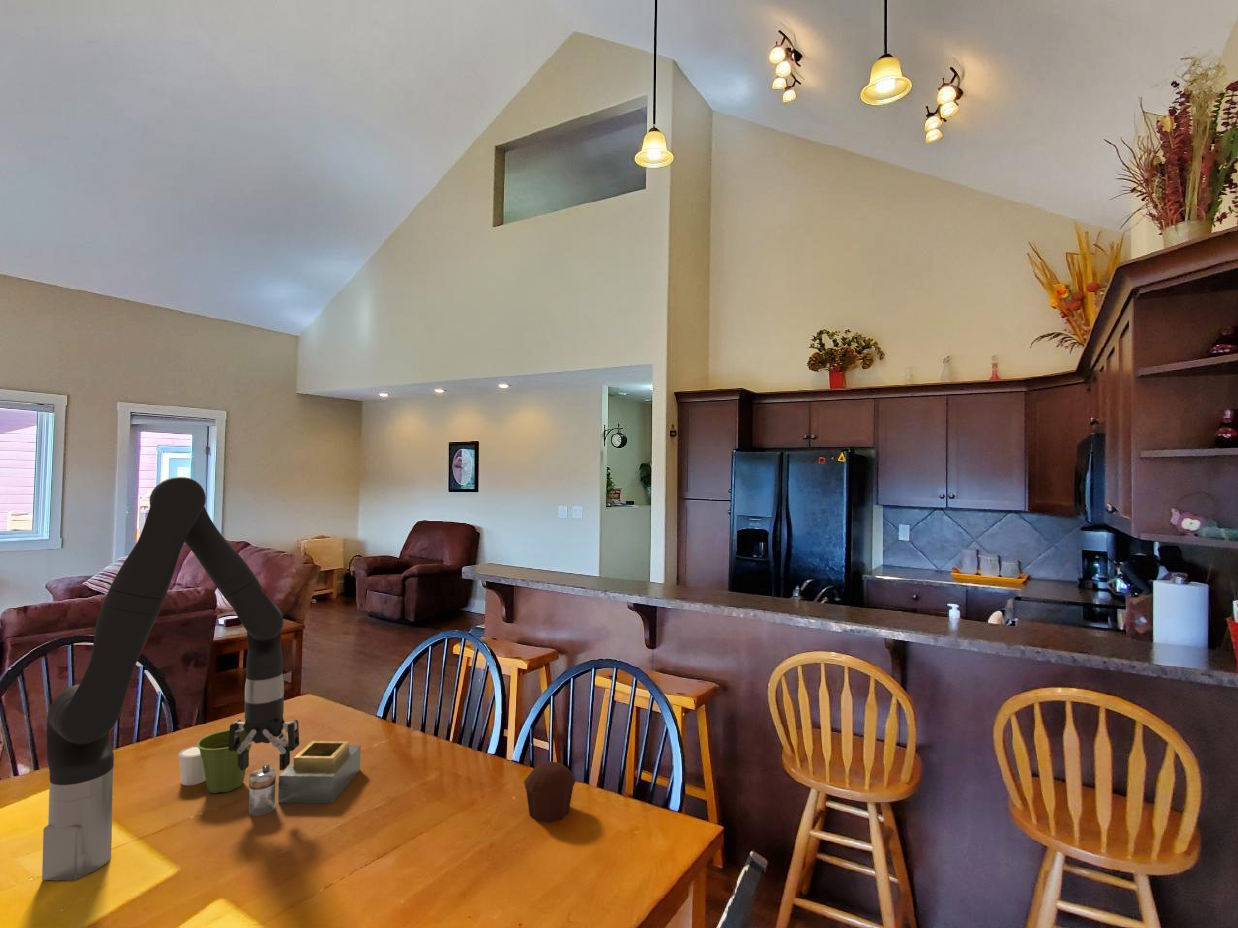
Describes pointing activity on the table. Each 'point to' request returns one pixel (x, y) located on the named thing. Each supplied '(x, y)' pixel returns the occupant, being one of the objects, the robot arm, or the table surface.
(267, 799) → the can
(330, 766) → the grey block with socket
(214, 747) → the plant pot
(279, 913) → the table surface
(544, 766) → the muffin
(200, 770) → the white cylinder
